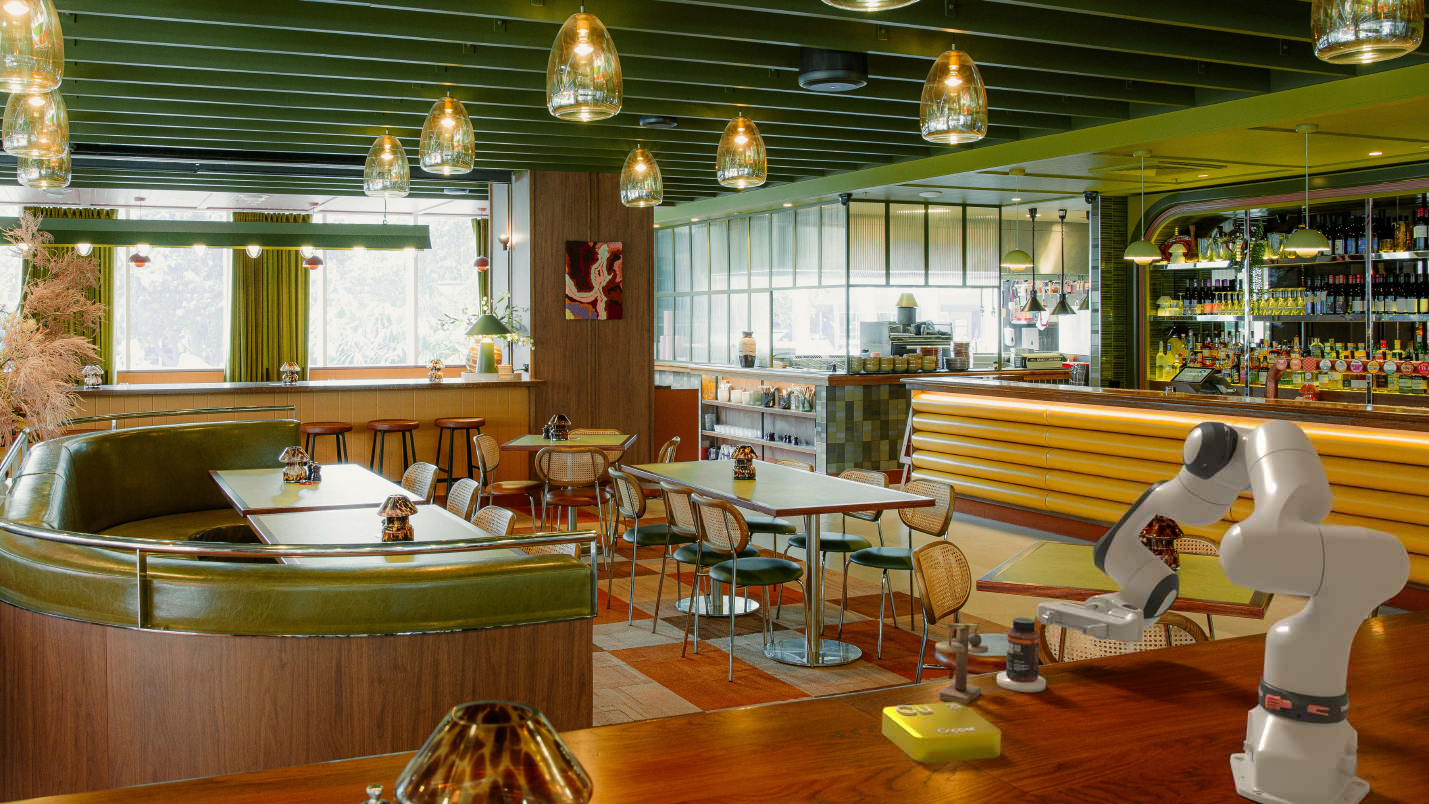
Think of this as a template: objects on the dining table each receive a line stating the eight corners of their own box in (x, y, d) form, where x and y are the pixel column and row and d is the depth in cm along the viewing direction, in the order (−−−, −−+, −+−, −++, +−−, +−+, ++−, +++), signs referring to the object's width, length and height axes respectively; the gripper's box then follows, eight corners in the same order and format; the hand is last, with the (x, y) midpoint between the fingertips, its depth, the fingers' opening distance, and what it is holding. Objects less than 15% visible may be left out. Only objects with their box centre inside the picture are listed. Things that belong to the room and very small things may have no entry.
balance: (955, 713, 190) (959, 629, 189) (928, 707, 193) (932, 624, 192) (990, 686, 206) (993, 608, 205) (964, 680, 209) (968, 604, 208)
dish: (1037, 695, 201) (1038, 689, 201) (990, 685, 206) (990, 679, 206) (1051, 683, 209) (1051, 677, 209) (1004, 674, 214) (1005, 668, 214)
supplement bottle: (1034, 674, 210) (1037, 616, 209) (1040, 684, 204) (1043, 624, 204) (1003, 672, 211) (1005, 615, 210) (1008, 682, 205) (1011, 622, 204)
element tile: (918, 766, 167) (919, 736, 166) (877, 731, 181) (878, 703, 181) (1005, 759, 171) (1006, 729, 171) (958, 725, 185) (959, 698, 185)
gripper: (1060, 591, 230) (1020, 598, 222) (1151, 611, 214) (1111, 620, 205) (1059, 621, 230) (1019, 629, 222) (1149, 643, 214) (1109, 653, 206)
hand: (1064, 625), depth 213 cm, fingers open, 8 cm apart
